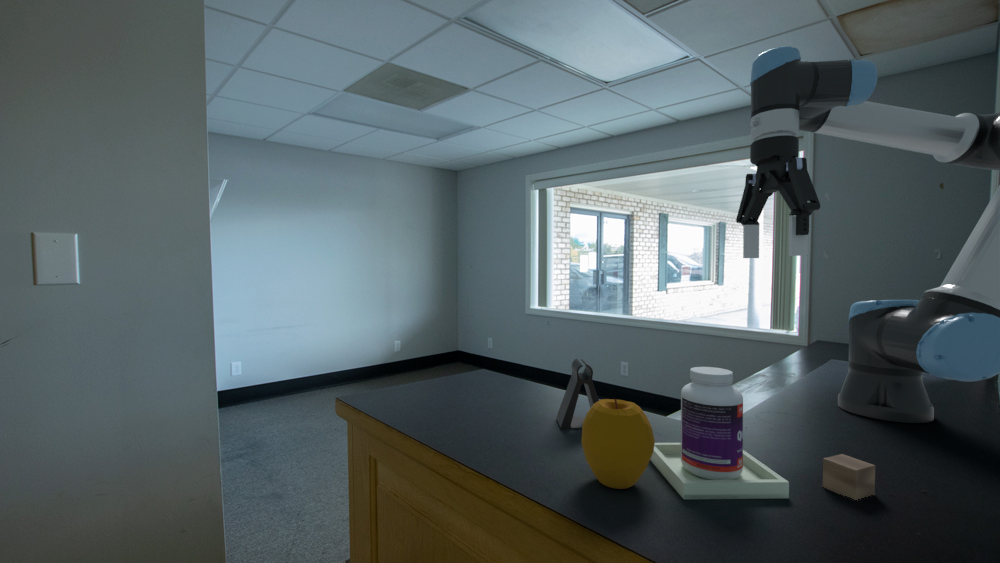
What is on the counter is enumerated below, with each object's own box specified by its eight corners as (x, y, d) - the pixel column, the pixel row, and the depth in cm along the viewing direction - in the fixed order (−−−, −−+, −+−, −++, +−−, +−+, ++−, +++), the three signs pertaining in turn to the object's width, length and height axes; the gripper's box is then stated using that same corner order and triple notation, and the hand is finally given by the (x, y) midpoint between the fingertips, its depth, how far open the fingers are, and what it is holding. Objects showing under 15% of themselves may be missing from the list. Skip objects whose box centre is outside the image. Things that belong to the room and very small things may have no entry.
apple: (650, 471, 66) (651, 391, 66) (658, 504, 57) (659, 411, 56) (582, 464, 68) (583, 387, 68) (579, 495, 59) (579, 406, 58)
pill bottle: (751, 486, 60) (752, 378, 60) (686, 481, 61) (687, 375, 61) (732, 461, 68) (733, 365, 68) (675, 457, 69) (676, 363, 69)
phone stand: (560, 429, 83) (560, 365, 83) (556, 419, 89) (556, 358, 89) (609, 429, 83) (609, 364, 83) (601, 419, 89) (602, 358, 89)
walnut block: (841, 482, 63) (842, 453, 63) (874, 495, 59) (875, 465, 59) (822, 487, 61) (823, 458, 61) (855, 501, 57) (855, 470, 57)
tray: (732, 455, 72) (732, 442, 72) (788, 498, 58) (789, 482, 58) (646, 456, 71) (646, 442, 71) (683, 499, 58) (683, 483, 58)
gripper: (718, 157, 94) (717, 258, 95) (800, 115, 69) (799, 254, 70) (754, 157, 95) (753, 258, 95) (849, 116, 70) (846, 254, 70)
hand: (772, 257), depth 82 cm, fingers open, 13 cm apart
